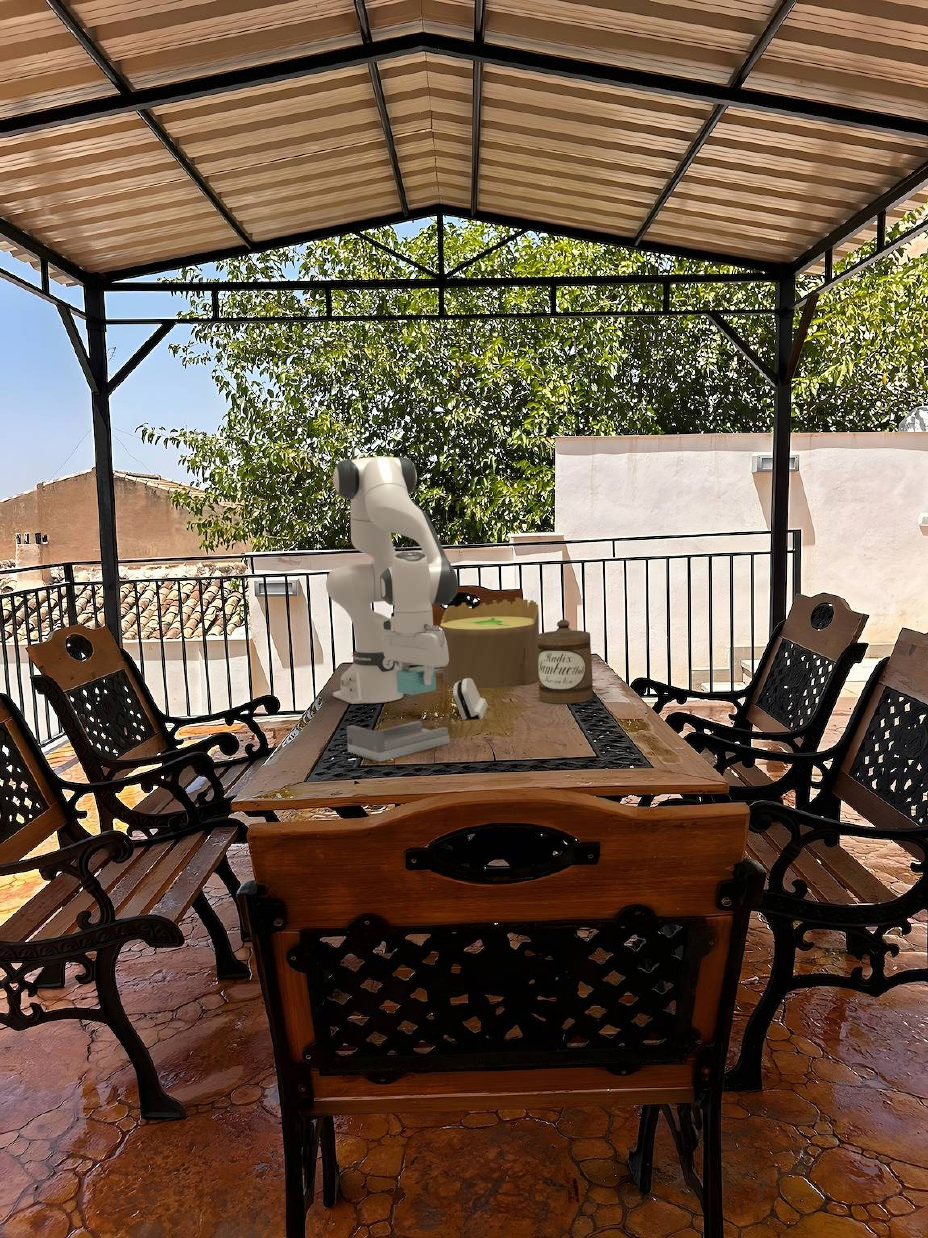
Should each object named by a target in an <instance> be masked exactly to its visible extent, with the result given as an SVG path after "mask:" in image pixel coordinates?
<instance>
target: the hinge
mask: <svg viewBox="0 0 928 1238" xmlns="http://www.w3.org/2000/svg"><path fill="white" fill-rule="evenodd" d="M452 692H453V693H452V695H453V697H454V698H453V699H454V701H455V703H456V706H457V709H458V711H459V714H460V716H461V717H460V718H461V719H462V720H467V719H468V718H469V717H471V718H472V717H475V716H478V718H479V720H482V719H483V717H484V716H485V713H486V711H487V708H488V706H489V705H488V702H487V700H486V699H485V698H483V697H481V696H480V694H479V691H478V688H476V686H475V684H474V682H473V680H472V679H471V678H467V679H464V680H463V681H458V682H457V683H455V685H454V686H453V690H452Z"/></svg>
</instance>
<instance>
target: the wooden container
mask: <svg viewBox="0 0 928 1238" xmlns="http://www.w3.org/2000/svg"><path fill="white" fill-rule="evenodd" d="M556 626H557V629H555V630H554V631H553V630H552V631H551V630H550V631H546V632H545V631H544V632H542V633H540V632H539V634H538V636H537V642H538V675H539V679H538V697H539V700H540V701H542V702H543V703H548V704H553V705H554V704H556V705H558V704H559V705H570V704H571V705H572V704H573V705H574V704H579V703H586V702H589V701H591V700H593V698H594V693H593V692H594V688H593V687H594V686H593V685H594V683H593V682H594V681H593V679H594V678H593V664H592V662H593V661H592V647H591V642H592V641H591V633H590V632H589V631H585V630H572V629H571V628H570V621H568V620H566V619H560V620H559V621H557V623H556Z"/></svg>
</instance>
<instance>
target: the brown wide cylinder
mask: <svg viewBox="0 0 928 1238" xmlns="http://www.w3.org/2000/svg"><path fill="white" fill-rule="evenodd" d="M539 611H540V610H539V604H538V603H537V601H534V600H533V599H531V600H528V599H527V598H526V599H523V598H520V597H515V601H512V602H511V601H508V599H503V600H502V601H499V602H497V600H492V603H490V604H489V605H488V604H486V602H483V603H481V605H478V606H476V607H474V609H473V608H472V607H470V606H469V605H467V602H461V605H460V604H459V605H458V606H456V605H449V606H448V608H445V610H444V613H443V615H442V616H441V620H440V624H439V627H440V628H441V629H442V631H444V635H445V638H446V641H447V646H448V654H449V662H448V664H447V666H444V667H441V668H442V669H441V670H442V682H443V683H445V684H446V685H448V686H452V687H454V685H455V683H457V682H458V681H463V680H464V679H467V678H471V679H472V680H473V682H474V684H475V686H476V688H477V689H497V688H508V687H518V686H519V687H520V686H530V685H533V684H537V683H538V681H539V675H538V642H537V636H538V634H540V614H539Z"/></svg>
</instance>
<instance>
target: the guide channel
mask: <svg viewBox="0 0 928 1238" xmlns="http://www.w3.org/2000/svg"><path fill="white" fill-rule="evenodd" d="M345 727H346V741H347V743H346V744H347V753H349V752H350V753H349V754H352V753H353V754H352V755H355V754H356V756H358V757H362V758H364V759H368V760H372V761H374V762H378V763H380V762H385V761H389V760H393V759H397V758H400V757H403V756H407V755H410V754H414V753H419V752H423V751H426V750H429V749H433V748H437V747H441V746H444V745H447V744H451V743H450V734H449V728H448V727H445V726H442V727H437V728H434V729H427V728H424V727H423V722H422V721H420V720H416V721H411V722H407V723H403V724H398V725H395V726H394V725H393V726H390V727H385V728H381V729H379V730H378V729H377V730H373V729H369V728H366V727H361V726H357V725H354V724H351V725H347V726H345Z"/></svg>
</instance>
